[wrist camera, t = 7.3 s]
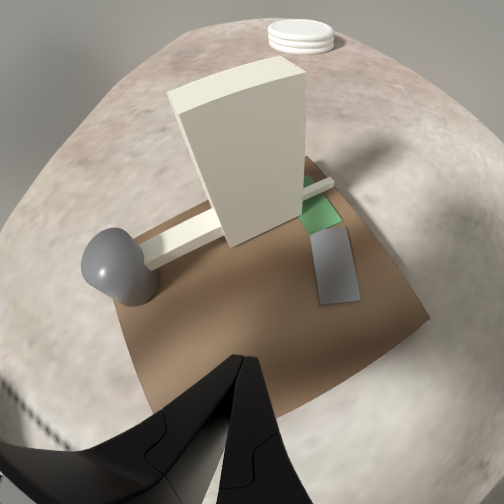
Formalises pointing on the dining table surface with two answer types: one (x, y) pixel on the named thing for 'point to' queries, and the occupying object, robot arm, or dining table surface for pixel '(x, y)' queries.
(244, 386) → the robot arm
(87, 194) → the dining table surface
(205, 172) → the lever
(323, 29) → the coaster
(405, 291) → the brown flat panel
